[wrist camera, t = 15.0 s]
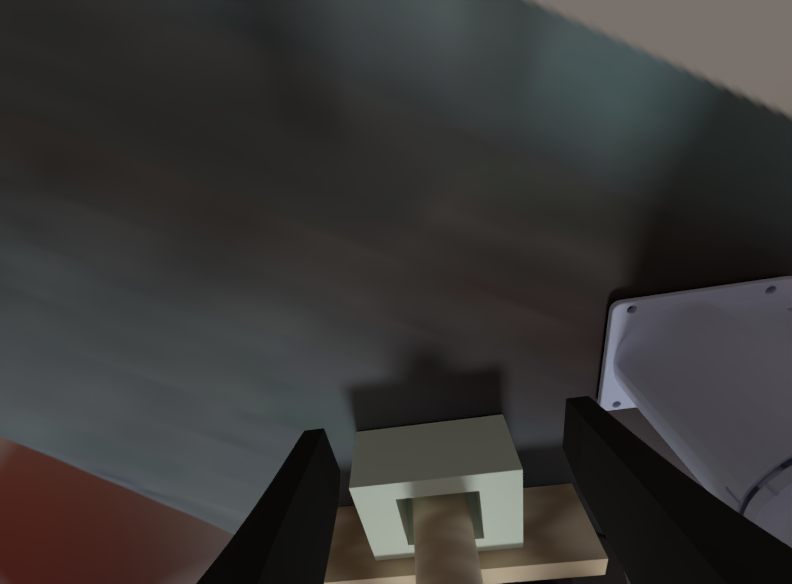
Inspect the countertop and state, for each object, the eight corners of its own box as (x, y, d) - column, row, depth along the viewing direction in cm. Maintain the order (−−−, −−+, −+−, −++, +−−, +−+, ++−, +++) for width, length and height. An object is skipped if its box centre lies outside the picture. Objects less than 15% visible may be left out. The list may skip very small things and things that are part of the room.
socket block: (502, 414, 22) (522, 469, 19) (505, 488, 26) (523, 547, 22) (356, 431, 23) (348, 488, 20) (378, 502, 27) (375, 560, 23)
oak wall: (571, 483, 26) (608, 558, 21) (570, 499, 27) (605, 574, 22) (318, 509, 27) (303, 584, 23) (325, 523, 28) (312, 598, 24)
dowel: (459, 448, 23) (486, 593, 16) (463, 481, 25) (490, 626, 18) (407, 454, 24) (412, 599, 16) (415, 486, 25) (422, 631, 18)
